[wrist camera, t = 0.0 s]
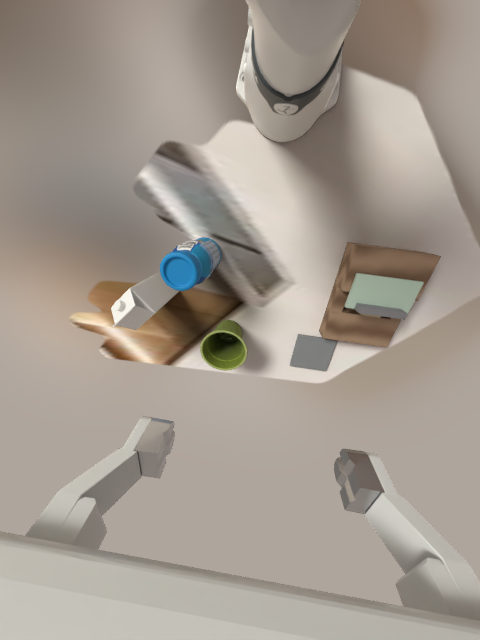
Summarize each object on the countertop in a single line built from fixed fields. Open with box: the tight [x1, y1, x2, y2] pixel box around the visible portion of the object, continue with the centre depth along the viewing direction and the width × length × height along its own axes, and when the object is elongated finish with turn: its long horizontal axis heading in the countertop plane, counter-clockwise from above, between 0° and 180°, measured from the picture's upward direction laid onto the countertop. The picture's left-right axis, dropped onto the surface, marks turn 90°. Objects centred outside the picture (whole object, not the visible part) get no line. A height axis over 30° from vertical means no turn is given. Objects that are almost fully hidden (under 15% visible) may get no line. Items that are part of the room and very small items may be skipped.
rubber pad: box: [290, 334, 337, 371], centre depth 63 cm, size 11×11×1 cm
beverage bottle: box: [160, 237, 221, 291], centre depth 45 cm, size 8×8×20 cm
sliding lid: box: [345, 273, 424, 319], centre depth 46 cm, size 8×14×3 cm, turn 84°
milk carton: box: [111, 272, 179, 330], centre depth 51 cm, size 7×7×19 cm
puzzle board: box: [319, 243, 441, 347], centre depth 52 cm, size 24×17×6 cm
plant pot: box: [200, 320, 247, 370], centre depth 58 cm, size 12×12×11 cm
